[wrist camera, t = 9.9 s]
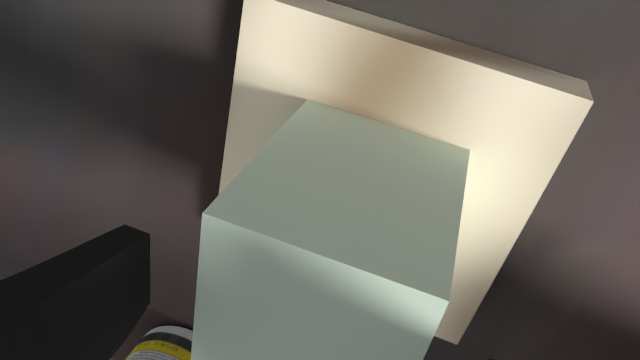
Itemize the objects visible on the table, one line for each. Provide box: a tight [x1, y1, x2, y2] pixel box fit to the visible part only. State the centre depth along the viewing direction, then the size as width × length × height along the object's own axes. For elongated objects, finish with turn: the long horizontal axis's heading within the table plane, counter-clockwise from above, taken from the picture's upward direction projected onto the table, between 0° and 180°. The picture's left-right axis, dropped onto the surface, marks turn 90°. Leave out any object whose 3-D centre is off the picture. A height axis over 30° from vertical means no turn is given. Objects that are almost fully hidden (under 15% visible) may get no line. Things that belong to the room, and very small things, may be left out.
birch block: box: [219, 0, 594, 345], centre depth 16 cm, size 9×9×2 cm
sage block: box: [191, 100, 470, 360], centre depth 13 cm, size 5×5×6 cm
